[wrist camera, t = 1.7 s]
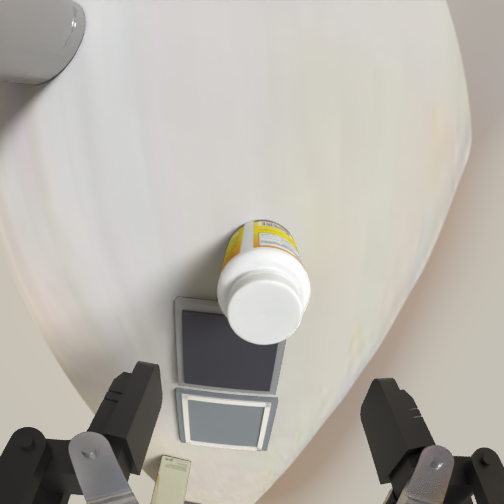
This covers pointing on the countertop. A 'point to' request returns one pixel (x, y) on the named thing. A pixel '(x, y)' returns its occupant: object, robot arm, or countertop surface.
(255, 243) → the supplement bottle
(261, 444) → the grey square pad
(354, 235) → the countertop surface
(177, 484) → the skincare box
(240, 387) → the ink pad
